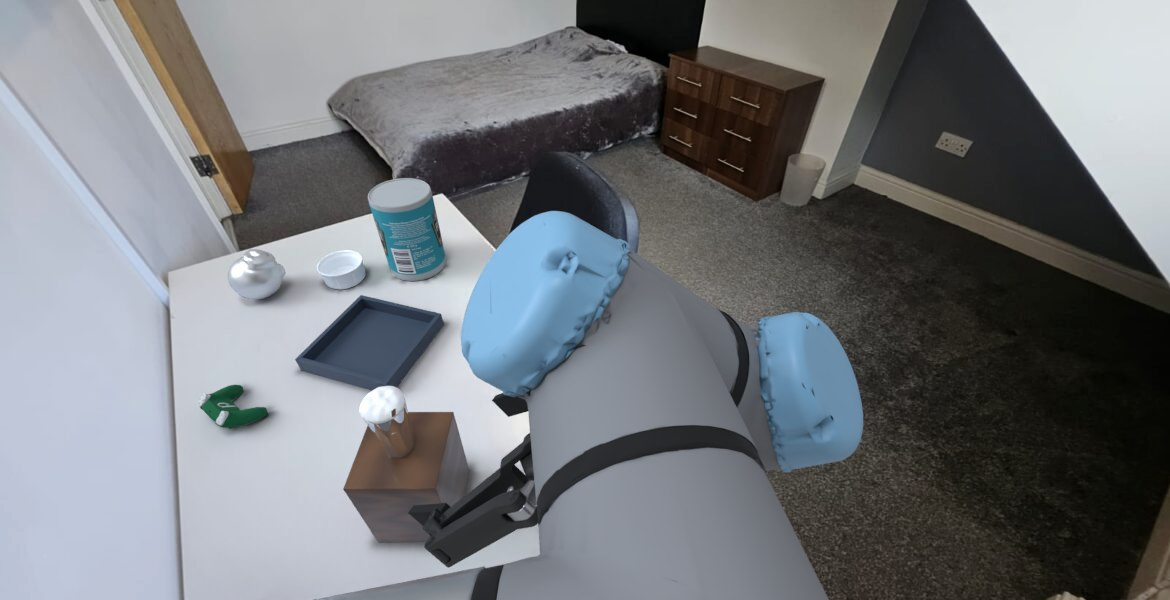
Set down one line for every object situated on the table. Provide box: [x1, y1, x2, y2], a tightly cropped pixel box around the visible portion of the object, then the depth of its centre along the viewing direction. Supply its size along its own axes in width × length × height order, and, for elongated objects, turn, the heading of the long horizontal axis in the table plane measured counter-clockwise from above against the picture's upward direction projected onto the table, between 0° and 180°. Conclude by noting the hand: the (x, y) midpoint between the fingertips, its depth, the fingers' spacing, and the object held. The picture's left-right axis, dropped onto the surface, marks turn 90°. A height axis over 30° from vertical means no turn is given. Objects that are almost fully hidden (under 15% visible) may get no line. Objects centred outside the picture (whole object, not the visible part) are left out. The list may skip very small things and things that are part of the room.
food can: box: [367, 177, 447, 282], centre depth 98 cm, size 12×12×18 cm
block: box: [342, 411, 470, 543], centre depth 59 cm, size 10×10×14 cm
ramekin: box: [315, 249, 366, 290], centre depth 99 cm, size 9×9×4 cm
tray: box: [294, 294, 445, 391], centre depth 84 cm, size 18×18×3 cm
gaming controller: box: [198, 384, 269, 430], centre depth 73 cm, size 9×4×6 cm
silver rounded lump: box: [227, 248, 287, 300], centre depth 93 cm, size 9×10×10 cm
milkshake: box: [358, 386, 415, 458], centre depth 51 cm, size 4×5×10 cm
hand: (465, 456), depth 47 cm, fingers open, 13 cm apart
